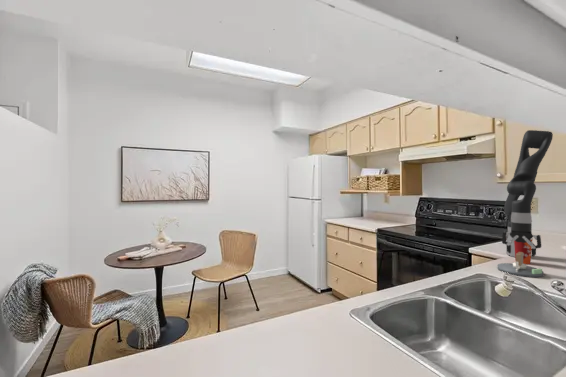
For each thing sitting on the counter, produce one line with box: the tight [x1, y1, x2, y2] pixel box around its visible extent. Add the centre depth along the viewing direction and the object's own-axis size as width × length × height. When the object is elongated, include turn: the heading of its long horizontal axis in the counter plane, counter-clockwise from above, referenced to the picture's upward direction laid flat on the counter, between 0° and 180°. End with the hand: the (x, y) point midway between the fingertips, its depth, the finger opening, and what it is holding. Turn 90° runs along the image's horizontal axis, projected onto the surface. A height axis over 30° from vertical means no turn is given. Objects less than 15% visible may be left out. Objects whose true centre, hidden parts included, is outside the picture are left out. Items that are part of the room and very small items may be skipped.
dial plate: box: [496, 262, 544, 279], centre depth 131 cm, size 17×17×4 cm
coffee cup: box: [514, 237, 534, 265], centre depth 146 cm, size 8×8×15 cm
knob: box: [512, 252, 527, 270], centre depth 130 cm, size 10×5×7 cm, turn 130°
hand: (521, 254), depth 131 cm, fingers open, 8 cm apart
